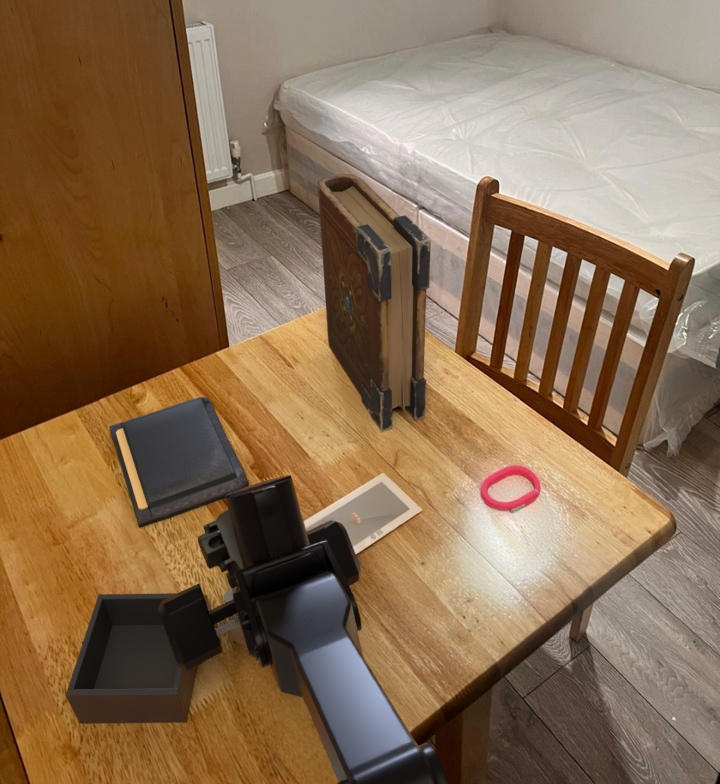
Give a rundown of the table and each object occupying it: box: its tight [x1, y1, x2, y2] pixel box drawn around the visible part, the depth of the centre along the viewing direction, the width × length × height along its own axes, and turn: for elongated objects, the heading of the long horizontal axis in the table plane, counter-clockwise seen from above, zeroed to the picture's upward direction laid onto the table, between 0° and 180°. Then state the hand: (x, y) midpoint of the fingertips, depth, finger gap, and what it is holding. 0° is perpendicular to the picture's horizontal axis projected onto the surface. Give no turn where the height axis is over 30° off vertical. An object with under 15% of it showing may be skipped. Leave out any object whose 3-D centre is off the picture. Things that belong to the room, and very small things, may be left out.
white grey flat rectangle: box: [303, 472, 423, 555], centre depth 90 cm, size 8×15×2 cm, turn 127°
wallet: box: [109, 396, 250, 529], centre depth 101 cm, size 20×2×15 cm
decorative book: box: [317, 173, 432, 433], centre depth 106 cm, size 23×7×30 cm, turn 24°
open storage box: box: [65, 592, 198, 724], centre depth 75 cm, size 11×11×6 cm
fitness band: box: [480, 464, 541, 514], centre depth 94 cm, size 8×6×2 cm
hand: (246, 580), depth 77 cm, fingers open, 9 cm apart
